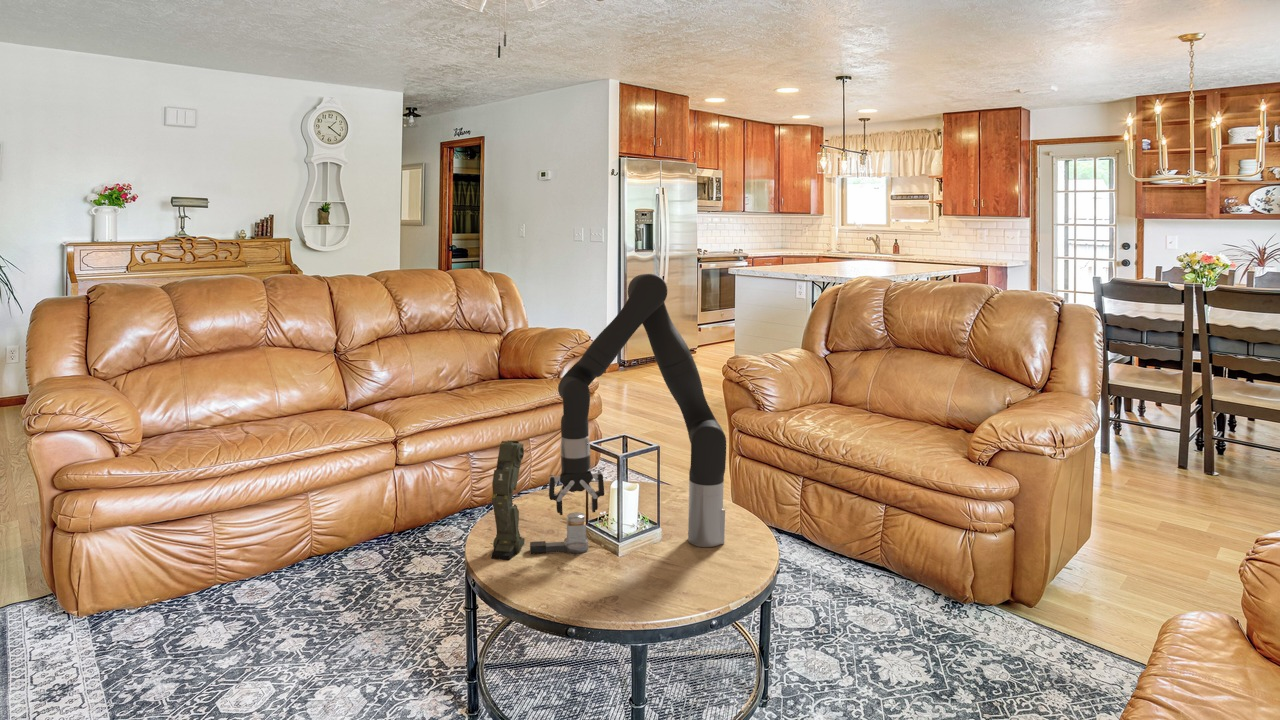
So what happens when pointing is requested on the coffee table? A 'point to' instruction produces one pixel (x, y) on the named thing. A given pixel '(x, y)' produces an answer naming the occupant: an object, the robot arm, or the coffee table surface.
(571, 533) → the socket
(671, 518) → the coffee table surface
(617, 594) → the coffee table surface
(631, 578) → the coffee table surface
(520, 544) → the mechanical leg
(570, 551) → the ratchet
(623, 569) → the coffee table surface
